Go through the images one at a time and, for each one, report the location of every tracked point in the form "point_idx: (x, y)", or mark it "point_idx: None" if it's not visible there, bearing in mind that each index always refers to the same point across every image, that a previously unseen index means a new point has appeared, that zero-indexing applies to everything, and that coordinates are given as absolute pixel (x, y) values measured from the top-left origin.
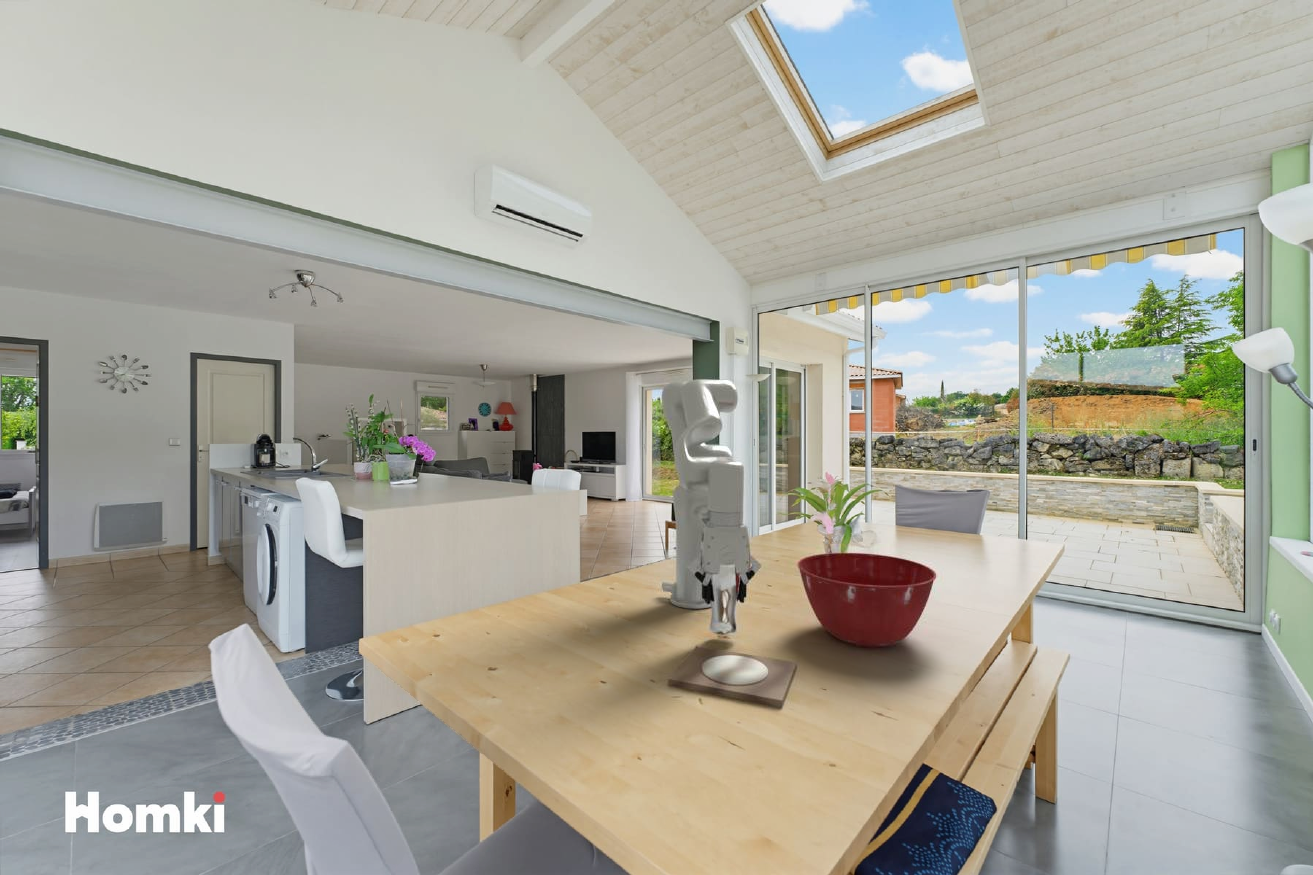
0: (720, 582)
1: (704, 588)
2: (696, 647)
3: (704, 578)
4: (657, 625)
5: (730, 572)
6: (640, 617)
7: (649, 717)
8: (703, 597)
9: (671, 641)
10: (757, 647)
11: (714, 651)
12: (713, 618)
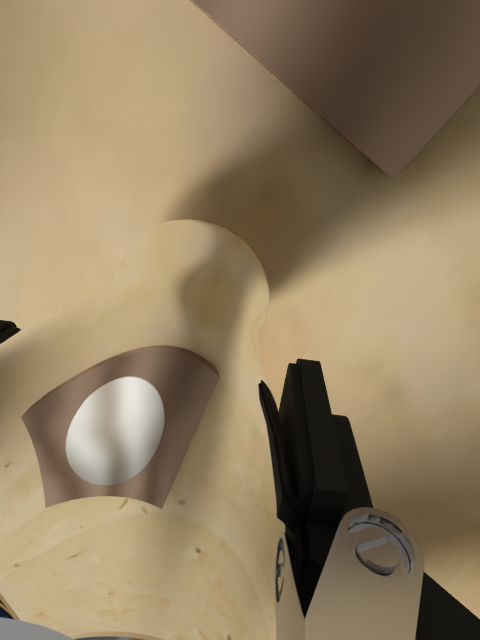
0: (188, 461)
1: (357, 489)
2: (404, 159)
3: (417, 619)
4: (404, 471)
5: None
6: (426, 537)
7: None
8: (347, 419)
9: (434, 323)
10: (57, 154)
11: (331, 71)
12: (256, 311)
